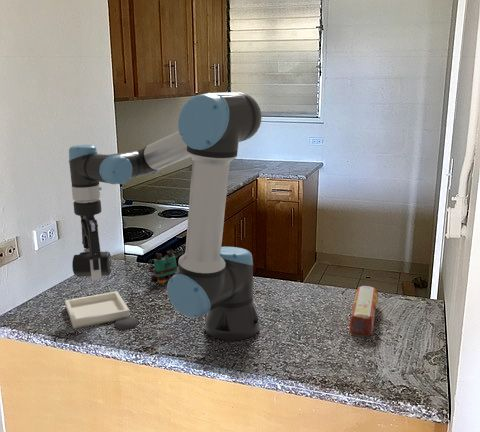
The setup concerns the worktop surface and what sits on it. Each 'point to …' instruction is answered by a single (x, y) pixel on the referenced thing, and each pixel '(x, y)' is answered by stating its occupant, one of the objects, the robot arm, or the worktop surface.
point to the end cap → (83, 264)
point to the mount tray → (96, 309)
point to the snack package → (363, 311)
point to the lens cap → (126, 323)
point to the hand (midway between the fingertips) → (93, 274)
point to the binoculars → (163, 267)
